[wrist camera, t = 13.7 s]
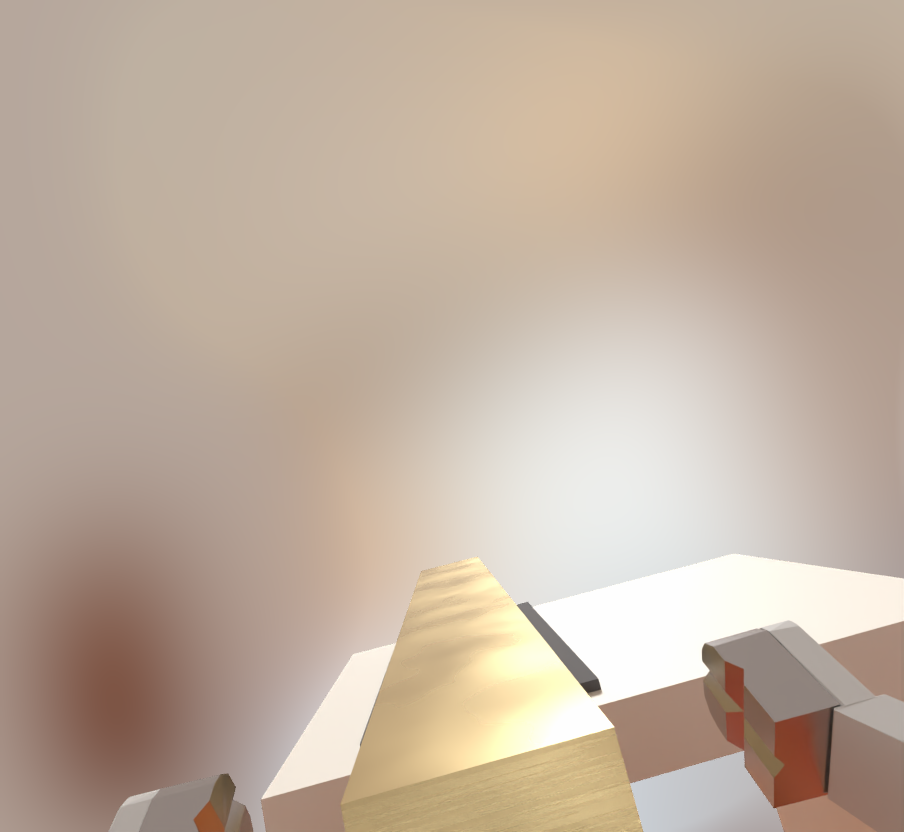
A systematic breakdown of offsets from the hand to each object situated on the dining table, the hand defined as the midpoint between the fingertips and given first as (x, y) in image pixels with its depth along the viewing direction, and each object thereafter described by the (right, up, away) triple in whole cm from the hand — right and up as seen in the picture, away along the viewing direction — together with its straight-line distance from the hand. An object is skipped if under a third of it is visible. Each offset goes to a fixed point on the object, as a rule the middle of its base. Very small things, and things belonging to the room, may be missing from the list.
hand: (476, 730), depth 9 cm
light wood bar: (0, -3, +7) cm, 8 cm away
